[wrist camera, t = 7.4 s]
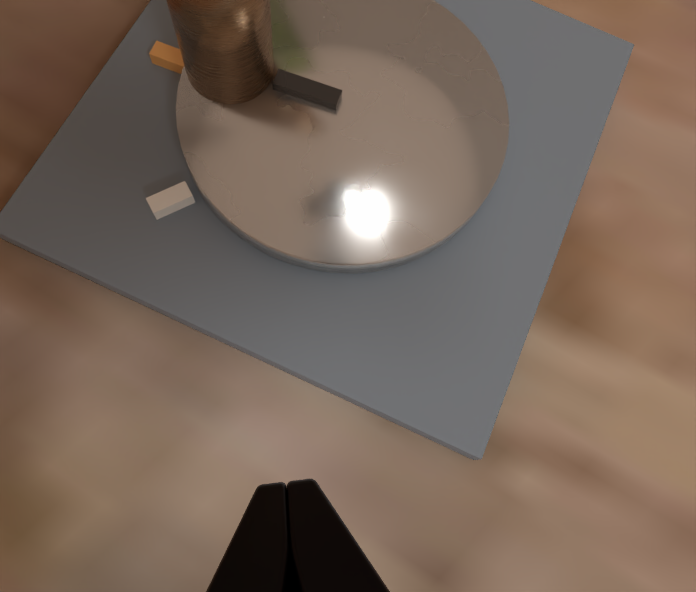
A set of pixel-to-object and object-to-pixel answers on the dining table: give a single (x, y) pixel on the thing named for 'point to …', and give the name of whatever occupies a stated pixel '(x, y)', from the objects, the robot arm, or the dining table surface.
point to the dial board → (322, 287)
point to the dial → (338, 125)
